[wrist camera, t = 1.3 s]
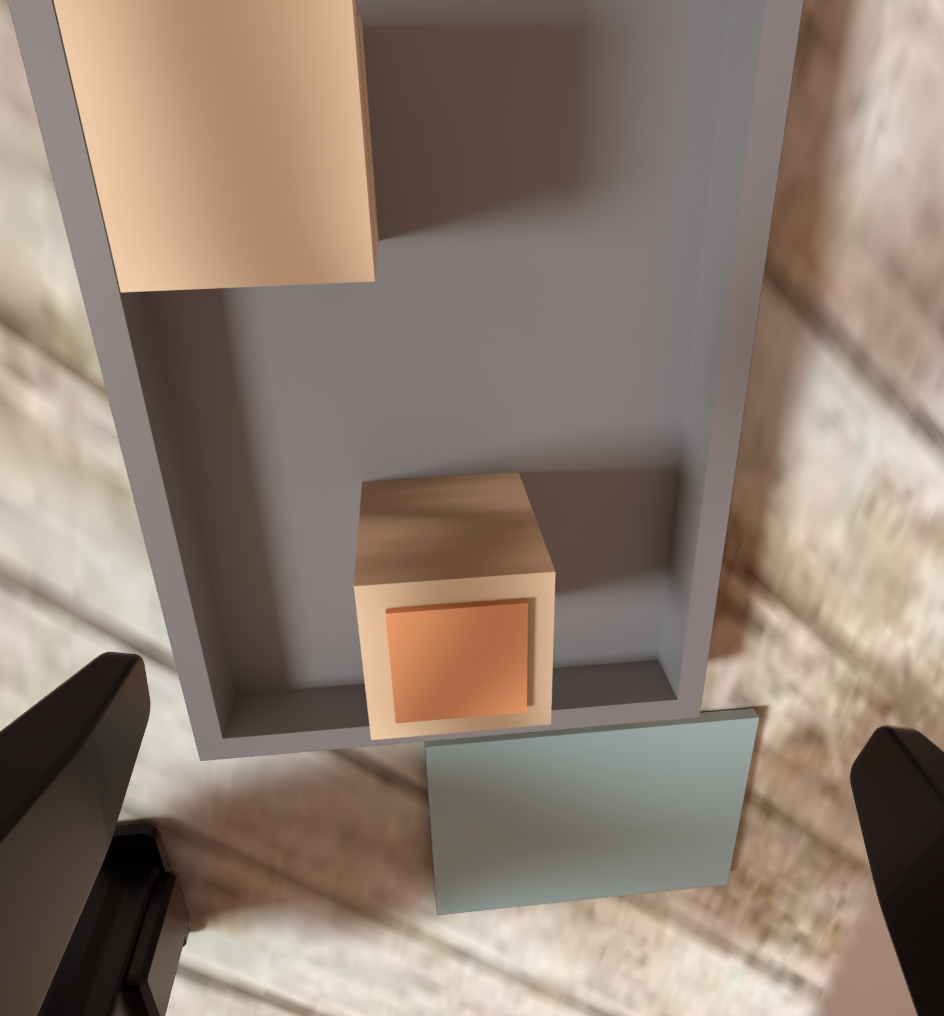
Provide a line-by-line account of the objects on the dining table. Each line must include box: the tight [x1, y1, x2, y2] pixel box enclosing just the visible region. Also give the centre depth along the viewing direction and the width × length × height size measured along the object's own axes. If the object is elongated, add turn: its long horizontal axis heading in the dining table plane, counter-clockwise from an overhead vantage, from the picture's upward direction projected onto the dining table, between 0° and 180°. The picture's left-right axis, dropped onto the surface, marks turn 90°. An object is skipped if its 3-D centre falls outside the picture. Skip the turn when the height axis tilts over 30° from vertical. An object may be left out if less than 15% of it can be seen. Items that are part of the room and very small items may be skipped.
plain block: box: [54, 0, 379, 292], centre depth 15 cm, size 4×4×6 cm
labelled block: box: [354, 472, 555, 740], centre depth 20 cm, size 4×4×6 cm
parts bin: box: [8, 0, 803, 761], centre depth 20 cm, size 16×22×2 cm
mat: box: [425, 708, 759, 915], centre depth 29 cm, size 12×9×1 cm
